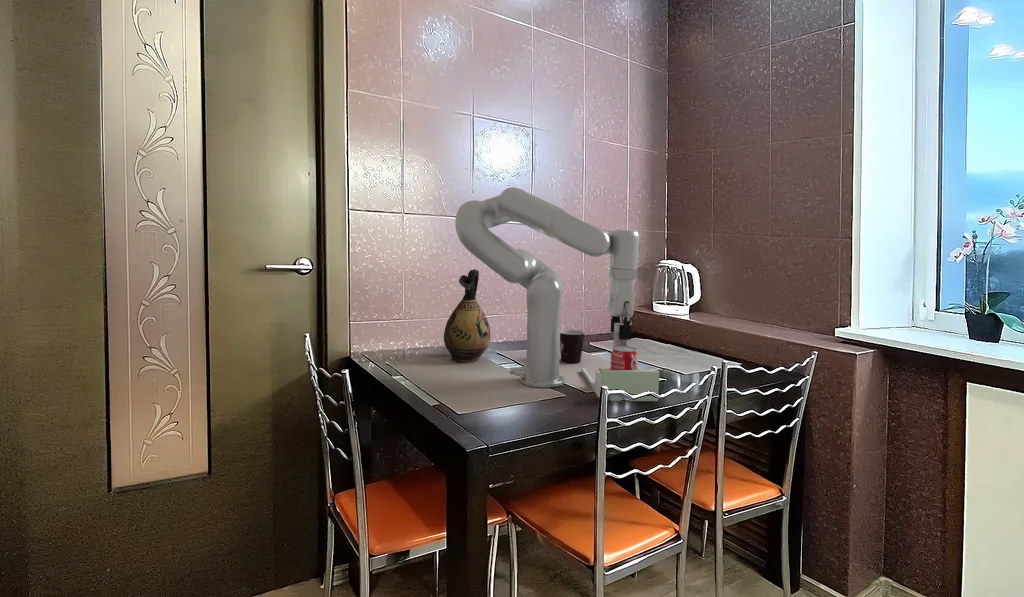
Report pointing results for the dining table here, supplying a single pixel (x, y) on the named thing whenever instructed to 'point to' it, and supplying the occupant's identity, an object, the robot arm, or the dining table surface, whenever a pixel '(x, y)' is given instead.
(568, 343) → the coffee mug
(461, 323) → the ceramic jug
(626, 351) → the soda can
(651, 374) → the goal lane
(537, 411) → the dining table surface
